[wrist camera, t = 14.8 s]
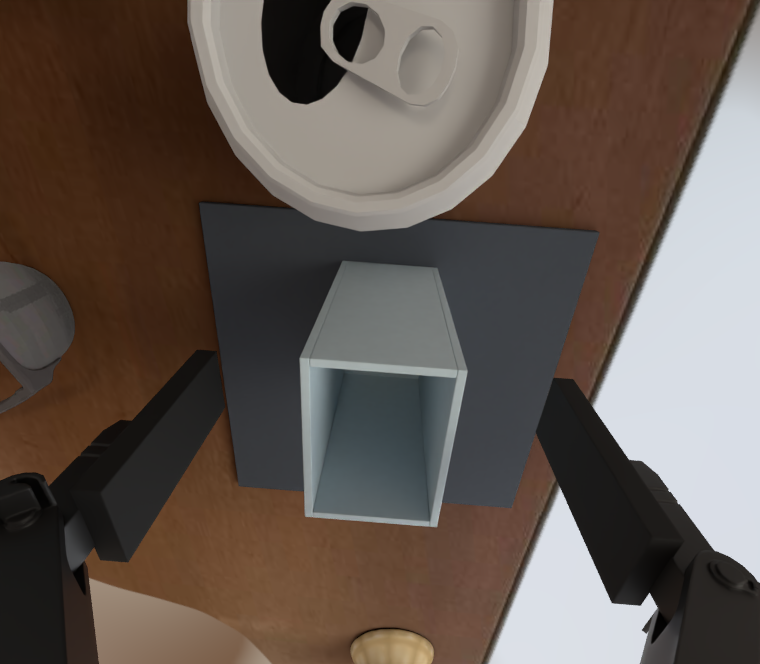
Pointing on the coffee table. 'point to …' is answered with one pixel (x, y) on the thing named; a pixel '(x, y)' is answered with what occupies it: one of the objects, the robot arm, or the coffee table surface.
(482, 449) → the mat
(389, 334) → the container
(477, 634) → the coffee table surface
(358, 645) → the hand bell
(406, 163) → the can
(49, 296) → the sunglasses
